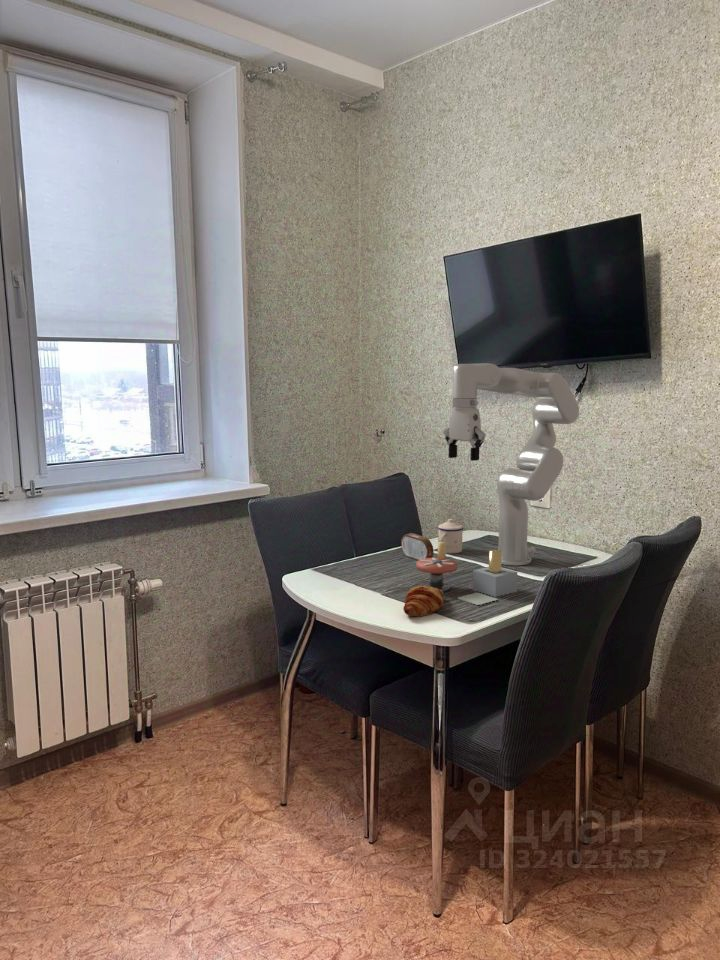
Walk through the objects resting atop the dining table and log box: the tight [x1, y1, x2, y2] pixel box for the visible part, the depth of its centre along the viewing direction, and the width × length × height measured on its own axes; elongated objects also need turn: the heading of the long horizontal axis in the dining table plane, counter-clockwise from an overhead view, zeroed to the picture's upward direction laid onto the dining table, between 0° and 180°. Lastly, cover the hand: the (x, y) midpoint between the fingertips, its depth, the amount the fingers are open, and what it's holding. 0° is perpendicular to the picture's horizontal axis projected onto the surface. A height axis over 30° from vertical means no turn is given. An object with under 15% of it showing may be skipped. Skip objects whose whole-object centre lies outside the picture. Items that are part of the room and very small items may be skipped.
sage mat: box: [457, 592, 499, 606], centre depth 199 cm, size 8×8×1 cm
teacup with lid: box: [437, 518, 464, 554], centre depth 254 cm, size 12×9×12 cm
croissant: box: [402, 585, 444, 617], centre depth 192 cm, size 21×10×8 cm, turn 151°
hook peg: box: [488, 549, 503, 574], centre depth 207 cm, size 4×4×12 cm
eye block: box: [472, 566, 518, 598], centre depth 207 cm, size 9×9×6 cm
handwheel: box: [415, 541, 458, 574], centre depth 209 cm, size 12×12×6 cm
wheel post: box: [422, 573, 451, 593], centre depth 210 cm, size 8×8×6 cm
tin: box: [400, 532, 435, 561], centre depth 244 cm, size 15×3×8 cm, turn 35°
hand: (463, 458), depth 222 cm, fingers open, 9 cm apart
